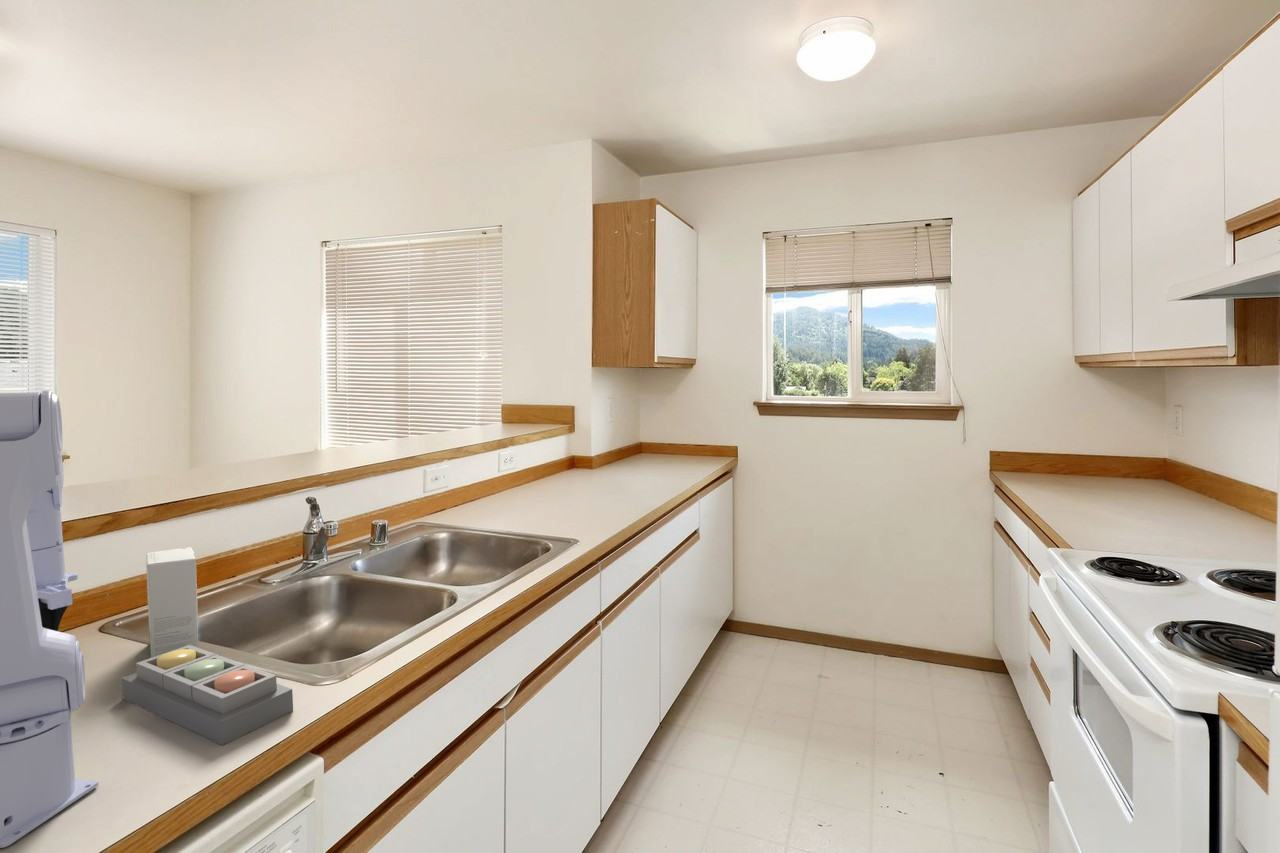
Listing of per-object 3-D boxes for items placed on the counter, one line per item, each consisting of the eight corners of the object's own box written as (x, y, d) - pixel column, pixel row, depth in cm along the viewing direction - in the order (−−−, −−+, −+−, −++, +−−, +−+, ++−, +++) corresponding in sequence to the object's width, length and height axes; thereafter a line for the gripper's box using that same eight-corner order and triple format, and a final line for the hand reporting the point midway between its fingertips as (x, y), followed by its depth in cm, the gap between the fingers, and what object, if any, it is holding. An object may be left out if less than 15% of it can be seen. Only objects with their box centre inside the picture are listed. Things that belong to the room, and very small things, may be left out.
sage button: (231, 677, 86) (230, 663, 86) (196, 691, 82) (195, 676, 82) (213, 670, 88) (212, 656, 88) (178, 683, 84) (177, 669, 84)
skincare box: (150, 643, 106) (144, 552, 104) (197, 633, 110) (193, 545, 109) (150, 660, 99) (144, 563, 98) (201, 649, 103) (196, 556, 102)
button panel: (293, 710, 84) (291, 674, 84) (222, 745, 76) (220, 705, 76) (193, 671, 95) (191, 640, 95) (123, 698, 87) (120, 663, 87)
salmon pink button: (262, 688, 83) (261, 674, 83) (227, 704, 79) (226, 688, 79) (242, 681, 85) (241, 667, 85) (207, 695, 81) (206, 681, 81)
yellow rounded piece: (202, 666, 89) (202, 652, 89) (168, 679, 86) (167, 665, 85) (185, 660, 92) (185, 646, 91) (151, 672, 88) (150, 658, 87)
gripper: (100, 546, 76) (107, 654, 77) (47, 532, 83) (54, 632, 84) (23, 561, 70) (32, 678, 71) (-28, 545, 77) (-19, 652, 78)
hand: (39, 655), depth 77 cm, fingers closed
